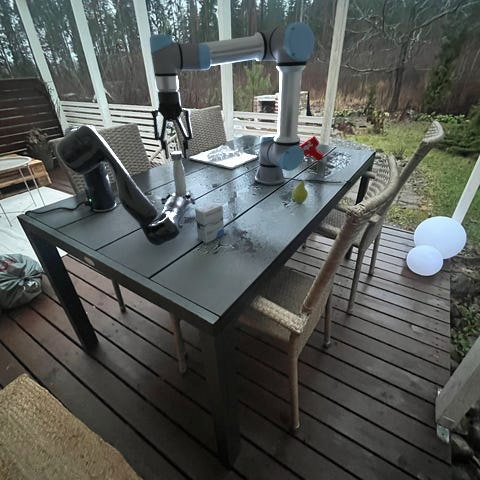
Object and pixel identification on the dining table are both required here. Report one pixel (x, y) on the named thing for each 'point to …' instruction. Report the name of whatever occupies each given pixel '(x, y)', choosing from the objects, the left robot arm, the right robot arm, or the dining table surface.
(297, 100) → the right robot arm
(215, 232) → the ink box
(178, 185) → the bottle
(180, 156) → the cap
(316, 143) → the toy gun
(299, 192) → the fruit
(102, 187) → the left robot arm
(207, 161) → the relief map
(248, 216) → the dining table surface
